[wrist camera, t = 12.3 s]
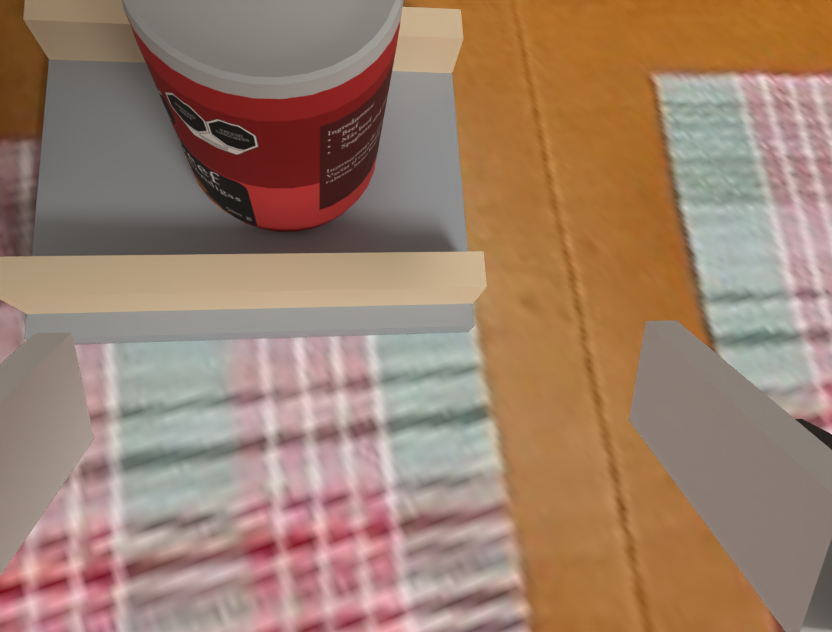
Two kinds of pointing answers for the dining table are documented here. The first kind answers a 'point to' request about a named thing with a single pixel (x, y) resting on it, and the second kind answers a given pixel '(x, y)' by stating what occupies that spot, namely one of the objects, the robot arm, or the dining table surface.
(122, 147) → the track
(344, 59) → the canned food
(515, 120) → the dining table surface
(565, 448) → the dining table surface
